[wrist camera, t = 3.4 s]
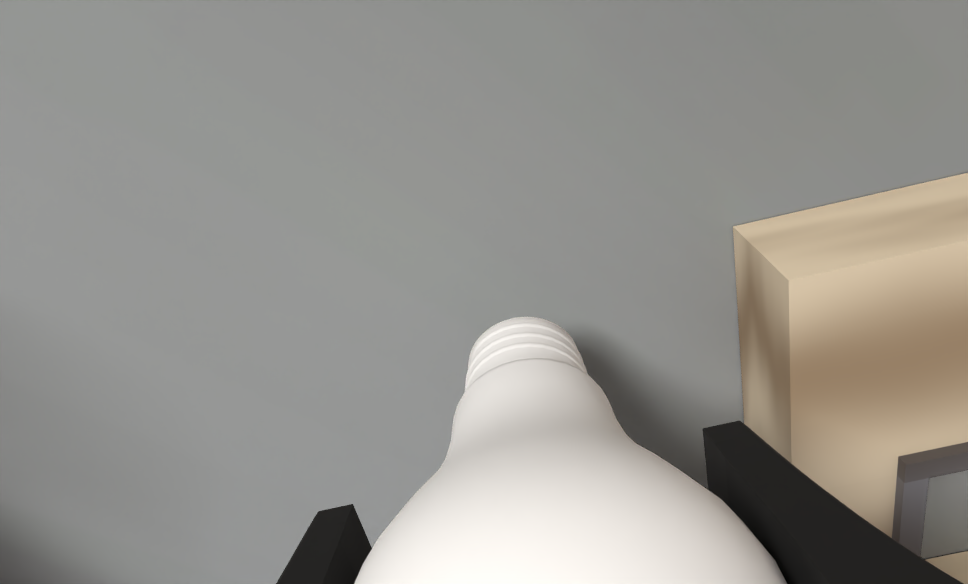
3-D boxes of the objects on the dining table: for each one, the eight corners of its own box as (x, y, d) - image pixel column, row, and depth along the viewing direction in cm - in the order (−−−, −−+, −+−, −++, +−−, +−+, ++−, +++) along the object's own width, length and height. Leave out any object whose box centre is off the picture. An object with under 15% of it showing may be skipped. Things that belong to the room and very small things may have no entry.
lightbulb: (704, 338, 16) (1078, 975, 6) (520, 483, 18) (589, 1136, 8) (521, 166, 14) (661, 727, 4) (335, 351, 16) (138, 1021, 6)
